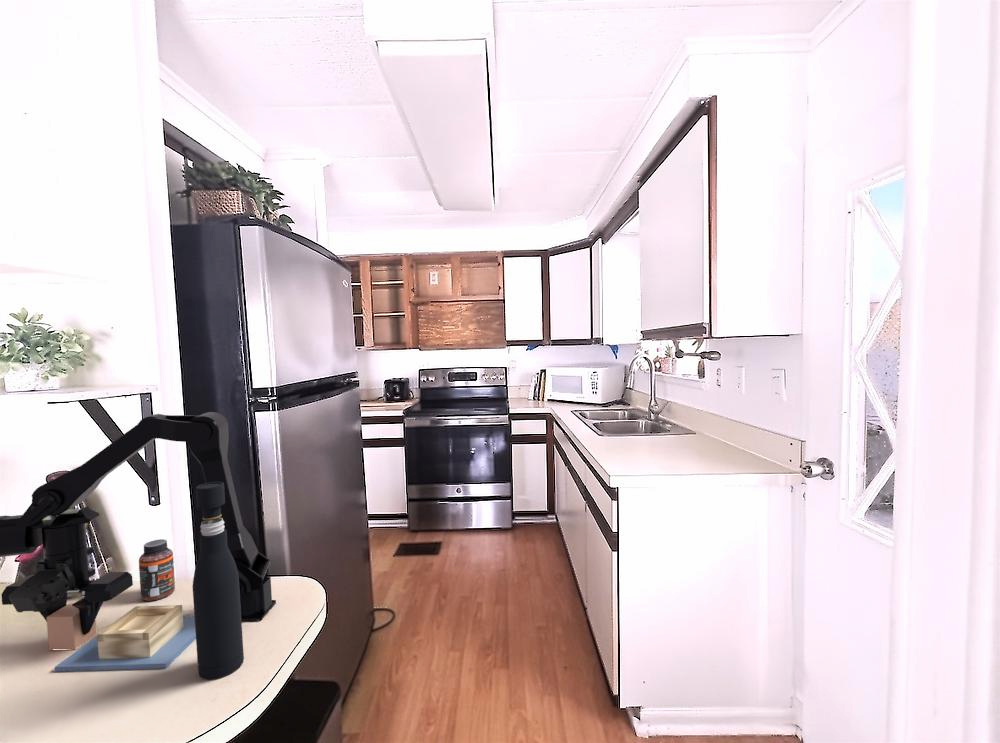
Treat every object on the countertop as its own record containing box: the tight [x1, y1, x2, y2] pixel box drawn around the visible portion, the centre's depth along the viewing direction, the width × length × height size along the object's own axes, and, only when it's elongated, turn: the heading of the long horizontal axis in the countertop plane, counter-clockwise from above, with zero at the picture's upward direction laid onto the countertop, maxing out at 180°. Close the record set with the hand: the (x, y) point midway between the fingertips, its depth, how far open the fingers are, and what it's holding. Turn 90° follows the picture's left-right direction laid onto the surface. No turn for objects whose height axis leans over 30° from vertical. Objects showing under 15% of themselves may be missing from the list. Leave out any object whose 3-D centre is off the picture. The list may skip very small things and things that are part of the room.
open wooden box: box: [96, 604, 184, 659], centre depth 84 cm, size 8×8×5 cm
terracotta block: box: [46, 602, 98, 651], centre depth 86 cm, size 4×4×6 cm
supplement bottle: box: [138, 538, 176, 602], centre depth 102 cm, size 6×6×11 cm
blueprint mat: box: [54, 615, 196, 673], centre depth 85 cm, size 18×14×1 cm
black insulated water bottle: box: [191, 482, 245, 681], centre depth 77 cm, size 6×6×30 cm
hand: (72, 633), depth 86 cm, fingers closed on terracotta block, 4 cm apart
